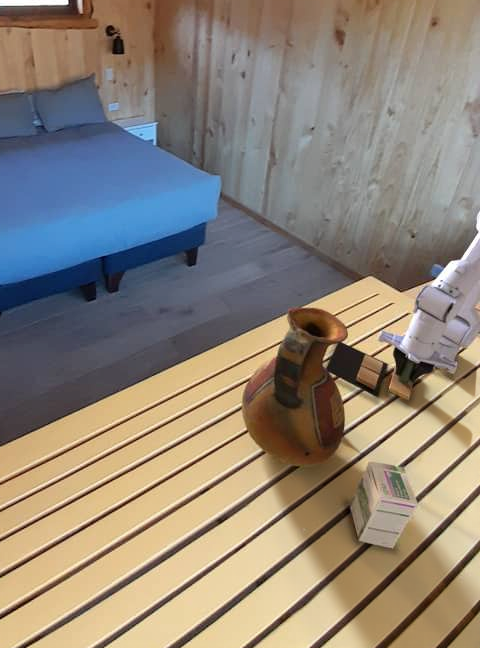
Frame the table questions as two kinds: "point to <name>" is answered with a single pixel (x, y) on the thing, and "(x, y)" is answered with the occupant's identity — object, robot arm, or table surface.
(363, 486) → the syrup box
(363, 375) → the chip
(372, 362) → the chip
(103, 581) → the table surface
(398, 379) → the brush
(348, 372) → the enamel panel
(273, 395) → the ceramic pitcher
